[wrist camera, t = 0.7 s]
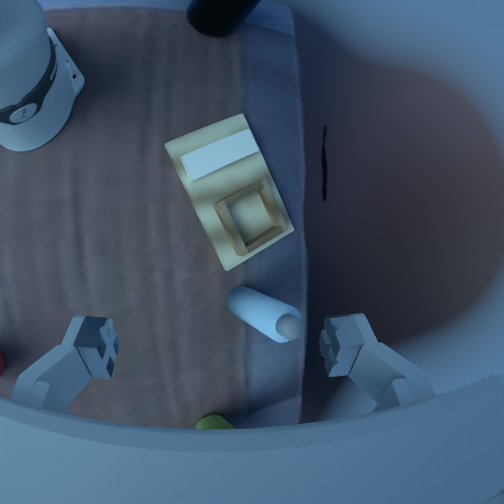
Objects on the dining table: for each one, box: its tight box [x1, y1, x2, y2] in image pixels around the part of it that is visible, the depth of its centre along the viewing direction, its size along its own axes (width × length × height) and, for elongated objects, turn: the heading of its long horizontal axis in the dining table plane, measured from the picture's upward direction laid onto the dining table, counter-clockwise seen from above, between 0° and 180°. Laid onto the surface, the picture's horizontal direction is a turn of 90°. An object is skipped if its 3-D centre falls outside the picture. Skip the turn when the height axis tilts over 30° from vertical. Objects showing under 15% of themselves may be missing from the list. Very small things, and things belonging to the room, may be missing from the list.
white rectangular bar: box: [180, 129, 259, 181], centre depth 45 cm, size 4×12×2 cm, turn 117°
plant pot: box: [195, 414, 235, 429], centre depth 47 cm, size 9×9×9 cm
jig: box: [165, 113, 294, 271], centre depth 47 cm, size 22×14×4 cm, turn 27°
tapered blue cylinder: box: [227, 286, 304, 343], centre depth 44 cm, size 5×5×16 cm
